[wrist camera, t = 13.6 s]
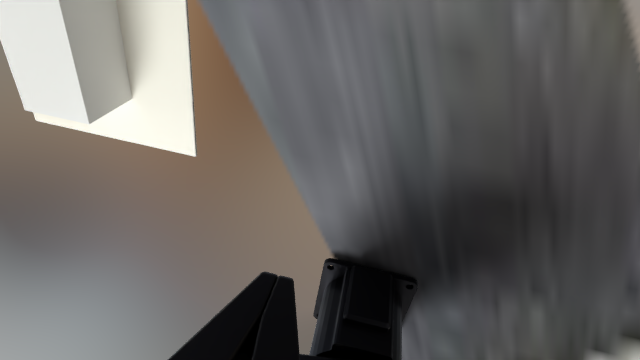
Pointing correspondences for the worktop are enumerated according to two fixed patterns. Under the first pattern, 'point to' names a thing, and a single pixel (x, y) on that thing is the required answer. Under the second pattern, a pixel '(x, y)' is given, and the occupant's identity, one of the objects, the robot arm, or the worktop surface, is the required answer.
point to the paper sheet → (151, 80)
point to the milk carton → (66, 56)
